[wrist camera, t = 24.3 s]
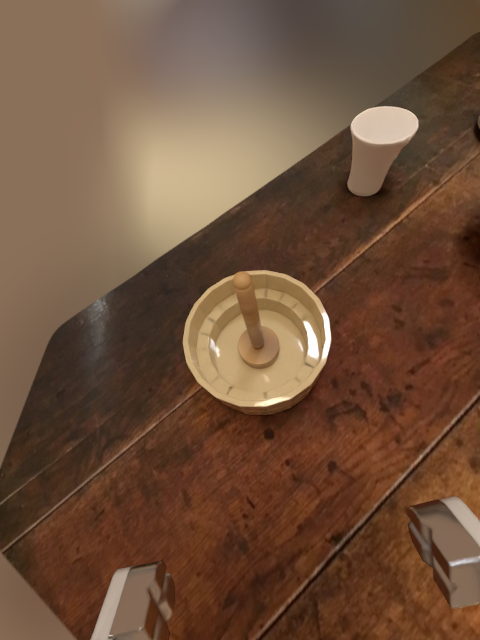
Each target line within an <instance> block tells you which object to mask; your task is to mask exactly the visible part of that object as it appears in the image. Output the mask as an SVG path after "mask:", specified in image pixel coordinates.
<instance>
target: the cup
mask: <svg viewBox="0 0 480 640" xmlns="http://www.w3.org/2000/svg"><path fill="white" fill-rule="evenodd" d="M417 130H418V120H417V118H416V116H415V115H414V114H413V113H411V112H410V111H408V110H405V109H403V108H398V107H388V106H385V107H376V108H371V109H367V110H365V111H364V112H362V113H361V114H359V115H357V116H356V117H355V118H354V119H353V122H352V124H351V134H352V139H353V150H352V153H353V157H352V166H351V172H350V176H349V179H348V182H347V185H348V189H349V190H350V191H351V192H352V193H353V194H355V195H358V196H371V195H373V194H375V193H377V192H378V191H379V190H380V188H381V186H382V184H383V181H384V179H385V176H386V174H387V172H388V170H389V168H390V166H391V164H392V162H393V161H394V160H395V158H396V157H397V156H398V154H399V152H400V151H401V149H402V148H403V147H404V146H405V145H407V144H408V143H409V140H410V139H411V138H412V137H413V136H414V135H415V133H416V132H417Z"/></svg>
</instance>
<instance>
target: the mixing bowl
mask: <svg viewBox="0 0 480 640" xmlns="http://www.w3.org/2000/svg"><path fill="white" fill-rule="evenodd" d="M245 272H247V273H249V274H250V275H251V277H252V280H253V285H254V290H255V296H256V301H257V306H258V311H259V317H260V322H261V326H265V327H268V328H270V329H271V330H273V331H274V332H275V334H276V335H277V337H278V340H279V348H280V350H279V356H278V358H277V360H276V361H275V362H274V363H273V364H272V365H271V366H269V367H266V368H263V369H256V368H252V367H250V366H248V365H247V364H246V363H245V362H244V361H243V359H242V357H241V355H240V353H239V350H238V341H239V338H240V336H241V335H242V333H243V332H244V331H245V330H247V328H246V325H245V322H244V319H243V315H242V312H241V309H240V306H239V303H238V299H237V296H236V293H235V290H234V287H233V283H232V280H233V277H234V275H233V276H229V277H226V278H224V279H223V280H221V281H220V282H218V283H217V284H215V285H213V286H212V287H210V288H209V289H208V290H207V291H206V292H205V293H204V294H203V295H202V296H201V297H200V298H199V300H198V301H197V302H196V303H195V304H194V306H193V308H192V310H191V312H190V314H189V316H188V318H187V320H186V324H185V330H184V337H183V347H184V352H185V358H186V363H187V365H188V367H189V368H190V370H191V372H192V374H193V375H194V377H195V379H196V381H197V382H198V383H199V384H200V385H201V386H202V387H204V388H205V389H206V390H207V391H208V392H209V393H211V394H212V395H213V396H214V397H215V398H217V399H218V400H219V401H221V402H222V403H223V404H225V405H226V406H227V407H229V408H232V409H234V410H237V411H240V412H242V413H245V414H249V415H271V414H274V413H277V412H280V411H284V410H287V409H290V408H291V407H293V406H294V405H295V404H297V403H298V402H299V401H301V400H302V399H303V398H305V397H306V396H307V395H308V394H309V392H310V391H311V389H312V388H313V386H314V385H315V383H316V382H317V380H318V379H319V377H320V375H321V372H322V370H323V368H324V366H325V364H326V361H327V357H328V352H329V348H330V344H331V332H330V323H329V317H328V315H327V313H326V311H325V309H324V307H323V305H322V303H321V301H320V299H319V298H318V297H317V296H316V295H315V294H314V293H313V292H312V291H311V290H310V289H309V288H308V287H307V286H306V285H305V284H303V283H301V282H300V281H298V280H296V279H294V278H292V277H290V276H288V275H286V274H281V273H276V272H272V271H267V270H260V271H245Z"/></svg>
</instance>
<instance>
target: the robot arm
mask: <svg viewBox="0 0 480 640" xmlns="http://www.w3.org/2000/svg"><path fill="white" fill-rule="evenodd" d="M407 515H408V516H409V518H410V520H411V521H410V522H409V524H408V528H409V533H410V536H411V539H412V542H413V544H414V546H415V548H416V550H417V552H418V553H419V555H420V557H421V559H422V560H423V561H424V562H425V563H426V564H428V565H429V566H430V567H432V568H433V577H434V580H435V582H436V584H437V585H438V587H439V589H440V590H441V592H442V594H443V595H444V597H445V599H446V600H447V602H448V604H449V605H450V607H451V609H453V608H459V607H465V606H472V605H478V604H480V520H479V519H478V518H477V517H476V516H475V515H474V514H473V513H472V511H471V510H470V509H469V508H468V507H467V506H466V505H465V504H464V502H463V501H462V500H461V499H459V498H458V497H454V496H453V497H449V498H444V499H440V500H434V501H430V502H426V503H421V504H417V505H413V506H409V507H408V508H407ZM174 603H175V586H174V581H173V578H172V576H171V575H170V574H168V573H166V564H165V563H164V561H163V560H161V561H156V562H151V563H147V564H142V565H138V566H131V567H127V568H122V569H118V570H117V571H116V572H115V574H114V576H113V577H112V580H111V583H110V586H109V589H108V592H107V595H106V597H105V600H104V603H103V606H102V609H101V612H100V615H99V617H98V620H97V623H96V626H95V629H94V632H93V635H92V638H91V640H169V637H170V631H169V628H168V626H167V622H168V621H169V619H170V617H171V615H172V614H173V610H174Z"/></svg>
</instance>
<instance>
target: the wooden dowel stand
mask: <svg viewBox="0 0 480 640" xmlns="http://www.w3.org/2000/svg"><path fill="white" fill-rule="evenodd" d="M232 283H233V287H234V290H235V293H236V296H237V299H238V303H239V306H240V309H241V312H242V315H243V319H244V322H245V325H246V328H247V330H245V331H244V332H243V333H242V335H241V336H240V338H239V341H238V350H239V353H240V355H241V357H242V359H243V361H244V362H245V363H246V364H247V365H248V366H250V367H252V368H256V369H263V368H266V367H269V366H271V365H272V364H273V363H274V362H275V361H276V360H277V358H278V356H279V350H280V348H279V340H278V337H277V335H276V334H275V332H274V331H273V330H271V329H270V328H268V327H265V326H261V322H260V317H259V311H258V306H257V301H256V296H255V290H254V285H253V280H252V277H251V275H250V274H249V273H247V272H244V271H241V272H238V273H236V274H235V275H234V277H233V280H232Z"/></svg>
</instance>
